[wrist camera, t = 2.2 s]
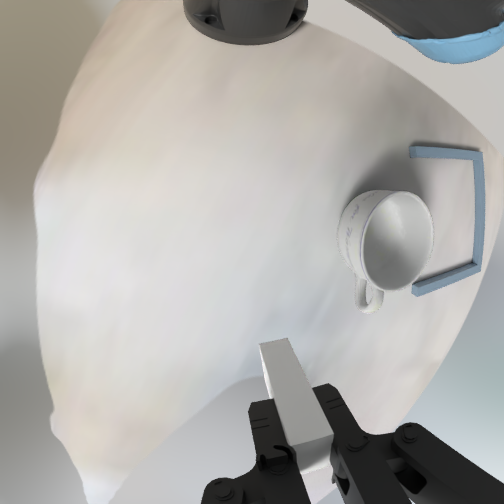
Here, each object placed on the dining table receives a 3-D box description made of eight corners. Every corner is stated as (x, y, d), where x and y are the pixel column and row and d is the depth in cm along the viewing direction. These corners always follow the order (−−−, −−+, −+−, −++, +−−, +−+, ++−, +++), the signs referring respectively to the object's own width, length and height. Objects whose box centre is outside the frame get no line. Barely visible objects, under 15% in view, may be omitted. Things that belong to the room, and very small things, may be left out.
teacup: (352, 170, 30) (391, 169, 22) (409, 214, 32) (449, 224, 25) (298, 271, 32) (323, 299, 24) (361, 302, 35) (393, 330, 27)
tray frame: (409, 146, 30) (415, 146, 29) (476, 152, 32) (482, 152, 30) (411, 293, 36) (417, 296, 34) (475, 268, 37) (480, 271, 36)
